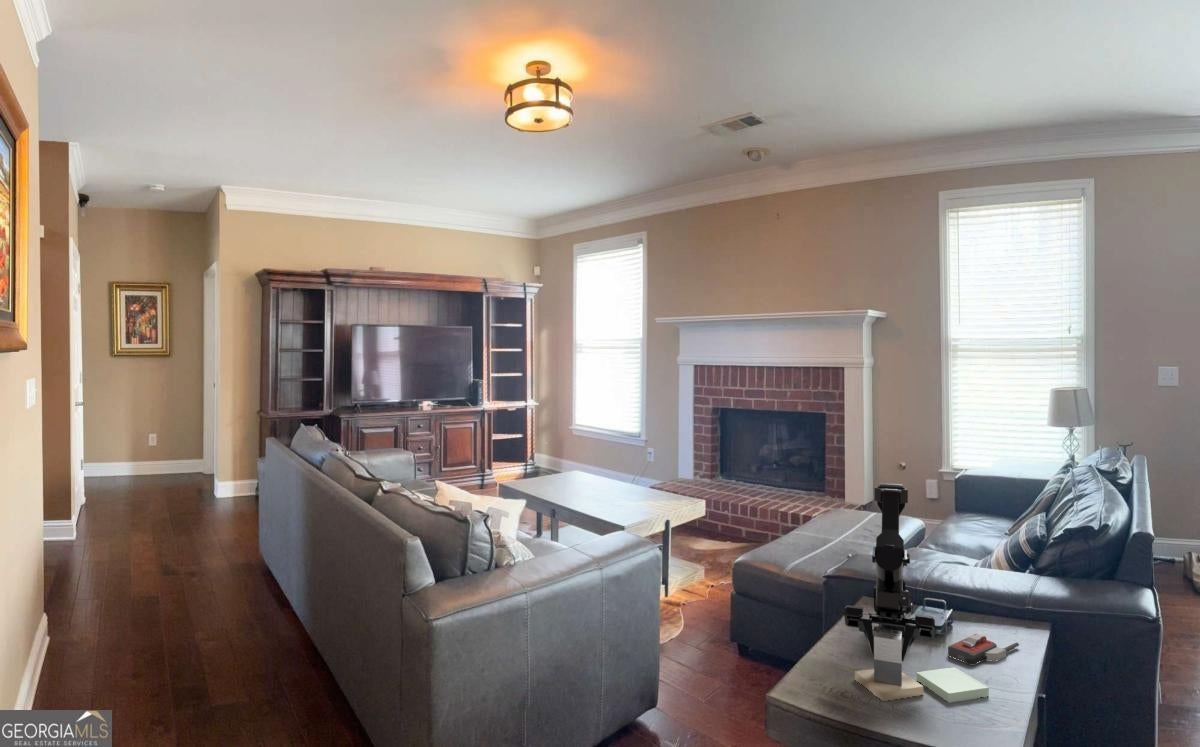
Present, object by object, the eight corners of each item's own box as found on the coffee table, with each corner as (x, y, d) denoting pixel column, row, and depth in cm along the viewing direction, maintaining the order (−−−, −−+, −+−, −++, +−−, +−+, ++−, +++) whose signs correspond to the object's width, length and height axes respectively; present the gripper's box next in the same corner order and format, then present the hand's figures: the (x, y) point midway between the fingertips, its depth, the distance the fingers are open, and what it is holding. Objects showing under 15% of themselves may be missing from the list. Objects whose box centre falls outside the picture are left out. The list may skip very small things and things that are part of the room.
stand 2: (916, 681, 154) (916, 672, 154) (954, 675, 156) (954, 667, 156) (948, 702, 144) (948, 693, 144) (988, 696, 146) (988, 687, 146)
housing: (875, 671, 154) (875, 627, 154) (901, 675, 152) (901, 631, 152) (874, 681, 149) (874, 636, 149) (901, 686, 147) (901, 640, 147)
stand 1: (854, 680, 154) (854, 671, 154) (893, 674, 157) (893, 666, 157) (882, 701, 145) (882, 692, 145) (923, 695, 147) (923, 686, 147)
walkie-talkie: (979, 672, 158) (1022, 651, 169) (979, 653, 158) (1022, 633, 169) (943, 658, 166) (986, 639, 177) (943, 640, 166) (986, 622, 177)
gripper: (844, 570, 158) (840, 635, 148) (934, 580, 150) (936, 650, 140) (847, 593, 165) (843, 657, 155) (933, 604, 157) (935, 671, 147)
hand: (887, 658), depth 149 cm, fingers closed on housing, 5 cm apart
